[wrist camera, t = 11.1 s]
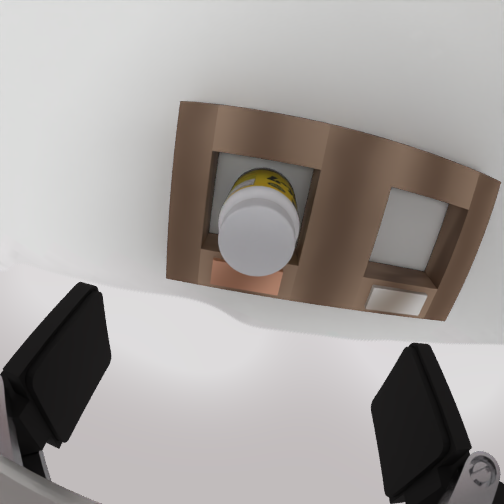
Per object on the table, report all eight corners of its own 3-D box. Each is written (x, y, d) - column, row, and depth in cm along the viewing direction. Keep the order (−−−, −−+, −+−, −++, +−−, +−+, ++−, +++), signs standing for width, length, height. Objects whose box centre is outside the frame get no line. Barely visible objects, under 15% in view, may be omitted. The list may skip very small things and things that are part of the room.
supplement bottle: (306, 207, 24) (320, 257, 16) (254, 237, 25) (245, 298, 18) (271, 154, 22) (269, 180, 15) (218, 188, 24) (191, 231, 16)
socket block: (481, 172, 21) (503, 183, 18) (433, 302, 27) (446, 323, 24) (192, 101, 21) (178, 101, 18) (176, 260, 27) (164, 280, 24)
